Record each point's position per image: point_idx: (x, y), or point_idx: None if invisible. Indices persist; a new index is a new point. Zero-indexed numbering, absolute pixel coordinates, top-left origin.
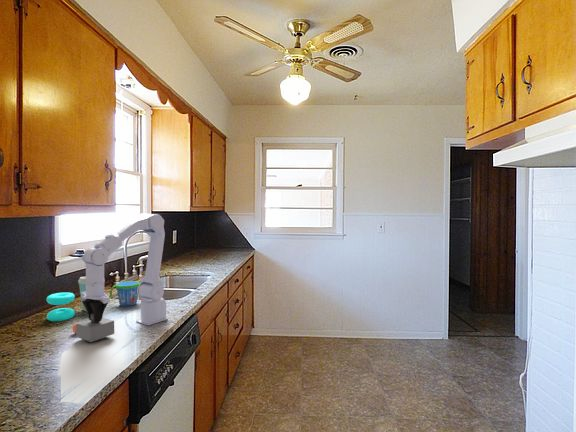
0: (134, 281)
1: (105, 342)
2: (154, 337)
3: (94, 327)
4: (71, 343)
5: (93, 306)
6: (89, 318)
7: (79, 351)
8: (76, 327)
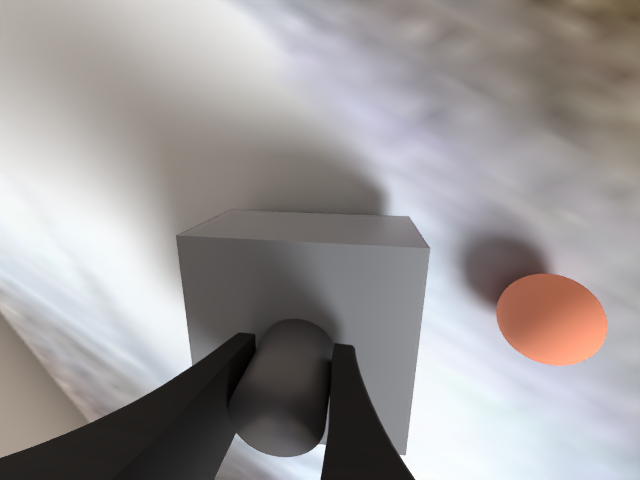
0: None
1: None
2: None
3: (183, 268)
4: (384, 161)
5: (10, 464)
6: (338, 351)
7: (204, 110)
8: (418, 235)
